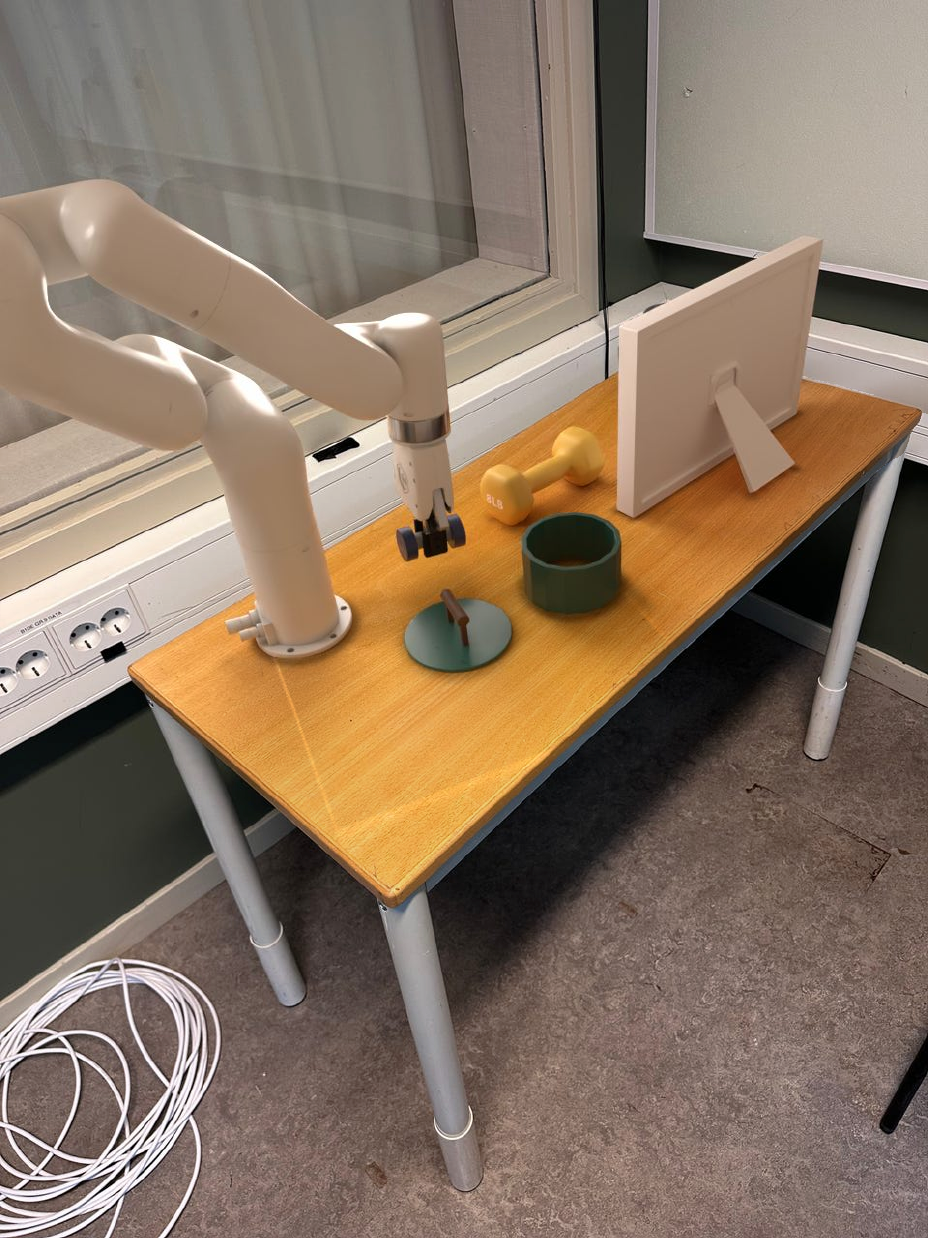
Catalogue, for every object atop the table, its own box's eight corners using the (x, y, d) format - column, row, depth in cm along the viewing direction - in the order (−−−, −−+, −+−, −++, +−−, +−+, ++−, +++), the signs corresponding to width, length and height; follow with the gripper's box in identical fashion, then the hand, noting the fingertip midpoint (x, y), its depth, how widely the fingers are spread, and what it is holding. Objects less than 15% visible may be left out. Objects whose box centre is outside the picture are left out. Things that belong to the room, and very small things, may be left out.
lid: (426, 690, 104) (420, 653, 101) (391, 624, 114) (384, 589, 110) (530, 653, 107) (527, 616, 104) (487, 593, 117) (483, 557, 113)
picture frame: (780, 408, 147) (804, 234, 129) (849, 431, 139) (885, 250, 121) (616, 510, 129) (618, 325, 111) (686, 543, 121) (700, 350, 103)
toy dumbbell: (408, 568, 116) (405, 539, 113) (398, 550, 119) (394, 523, 116) (467, 551, 118) (465, 523, 115) (455, 535, 121) (452, 507, 118)
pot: (550, 628, 110) (547, 581, 106) (509, 575, 120) (505, 529, 115) (637, 598, 113) (639, 550, 108) (591, 548, 122) (591, 502, 118)
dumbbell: (516, 537, 126) (512, 488, 121) (476, 513, 132) (470, 465, 127) (610, 484, 134) (611, 436, 129) (569, 463, 140) (567, 416, 135)
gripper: (369, 402, 111) (386, 526, 123) (411, 457, 100) (426, 588, 111) (425, 389, 113) (437, 512, 125) (473, 442, 101) (481, 572, 113)
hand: (432, 547), depth 118 cm, fingers closed on toy dumbbell, 2 cm apart
